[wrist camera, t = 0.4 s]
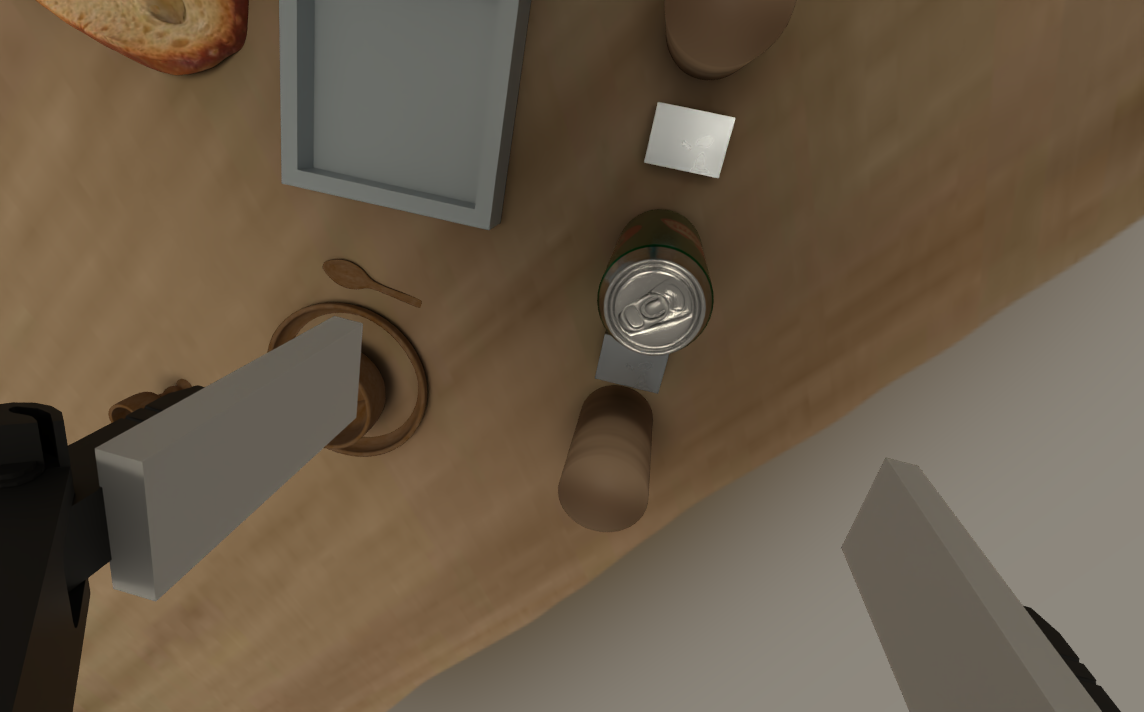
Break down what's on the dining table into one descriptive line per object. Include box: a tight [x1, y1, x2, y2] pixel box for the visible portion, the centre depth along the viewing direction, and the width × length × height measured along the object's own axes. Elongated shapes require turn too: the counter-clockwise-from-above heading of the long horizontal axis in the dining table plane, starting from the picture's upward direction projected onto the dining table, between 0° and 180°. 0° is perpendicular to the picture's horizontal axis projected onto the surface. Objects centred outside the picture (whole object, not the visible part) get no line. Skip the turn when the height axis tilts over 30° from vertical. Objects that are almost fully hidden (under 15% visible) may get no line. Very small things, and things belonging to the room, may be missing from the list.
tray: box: [279, 0, 531, 230], centre depth 33 cm, size 13×13×2 cm
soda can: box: [597, 209, 714, 356], centre depth 30 cm, size 5×5×12 cm
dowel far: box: [558, 385, 653, 532], centre depth 36 cm, size 5×5×9 cm
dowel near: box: [664, 0, 796, 80], centre depth 26 cm, size 5×5×9 cm
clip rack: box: [595, 102, 735, 393], centre depth 34 cm, size 34×4×3 cm, turn 169°
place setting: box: [109, 259, 427, 457], centre depth 40 cm, size 18×20×6 cm
